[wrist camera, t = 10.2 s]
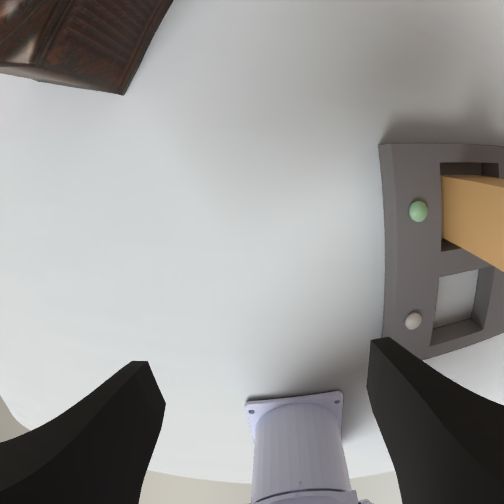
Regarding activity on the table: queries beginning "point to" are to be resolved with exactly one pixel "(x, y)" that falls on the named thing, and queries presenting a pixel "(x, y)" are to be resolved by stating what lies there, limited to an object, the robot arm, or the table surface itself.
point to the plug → (474, 215)
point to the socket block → (431, 250)
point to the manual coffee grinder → (78, 40)
